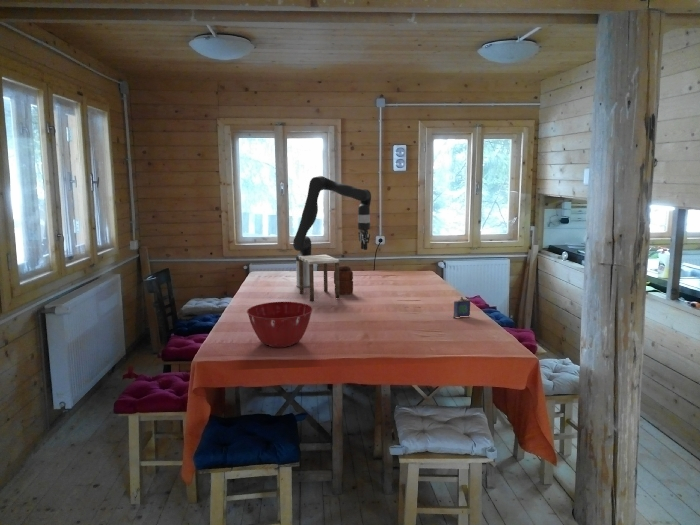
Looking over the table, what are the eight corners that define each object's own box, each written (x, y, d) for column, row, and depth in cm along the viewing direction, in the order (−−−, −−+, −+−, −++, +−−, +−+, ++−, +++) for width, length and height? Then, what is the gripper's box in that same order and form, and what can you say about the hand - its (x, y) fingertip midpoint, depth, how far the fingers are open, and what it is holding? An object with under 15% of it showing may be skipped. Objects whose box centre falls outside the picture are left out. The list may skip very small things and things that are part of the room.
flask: (455, 318, 280) (455, 298, 278) (452, 317, 282) (452, 297, 281) (470, 317, 283) (471, 297, 281) (467, 316, 285) (468, 295, 284)
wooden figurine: (352, 292, 345) (352, 264, 342) (353, 294, 339) (353, 265, 336) (334, 292, 345) (333, 264, 342) (334, 295, 338) (333, 266, 336)
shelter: (299, 293, 344) (298, 256, 341) (327, 290, 351) (326, 254, 347) (310, 301, 322) (309, 261, 318) (340, 298, 328) (339, 259, 324)
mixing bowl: (313, 352, 229) (312, 316, 227) (244, 354, 227) (243, 318, 224) (312, 333, 257) (312, 300, 254) (251, 334, 255) (250, 302, 252)
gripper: (354, 221, 345) (354, 248, 348) (362, 222, 332) (362, 251, 335) (365, 220, 348) (365, 247, 350) (374, 222, 335) (374, 250, 337)
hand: (364, 249), depth 342 cm, fingers open, 3 cm apart
